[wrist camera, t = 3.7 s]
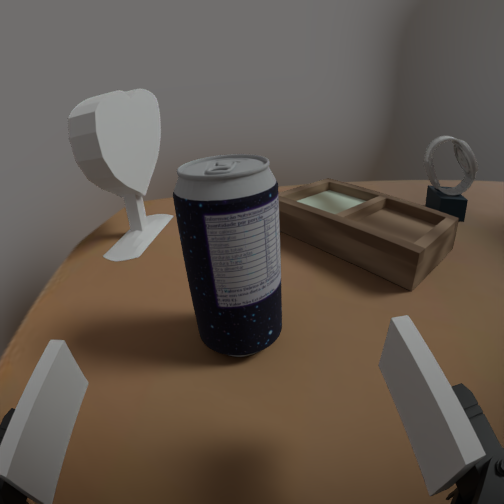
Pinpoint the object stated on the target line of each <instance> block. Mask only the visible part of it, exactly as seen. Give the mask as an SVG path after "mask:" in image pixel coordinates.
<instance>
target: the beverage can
mask: <svg viewBox="0 0 504 504" xmlns="http://www.w3.org/2000/svg"><path fill="white" fill-rule="evenodd" d="M269 164H270V163H269V160H268V159H267V158H265V157H263V156H258V155H249V154H232V155H231V154H230V155H219V156H212V157H206V158H202V159H198V160H194V161H191V162H188V163H185V164H183V165H182V166H180V167H179V168H178V169H177V174H178V176H179V177H178V180H177V183H176V187H175V189H174V192H173V199H174V205H175V211H176V217H177V223H178V229H179V234H180V240H181V245H182V251H183V256H184V261H185V267H186V272H187V277H188V282H189V287H190V292H191V296H192V301H193V306H194V310H195V315H196V320H197V324H198V328H199V333H200V337H201V339H202V341H203V342H204V343H205V344H206V345H207V346H208V347H209V348H211V349H212V350H214V351H216V352H219V353H222V354H226V355H229V356H236V357H243V356H249V355H253V354H255V353H258V352H259V351H261V350H263V349H265V348H267V347H268V346H270V345H271V344H272V343H273V342H274V341H275V340H276V339H277V338H278V336H279V335H280V332H281V329H282V306H281V260H280V226H279V198H278V183H277V181H276V179H275V177H274V176H273V174H272V172H271V170H270V168H269Z"/></svg>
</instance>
